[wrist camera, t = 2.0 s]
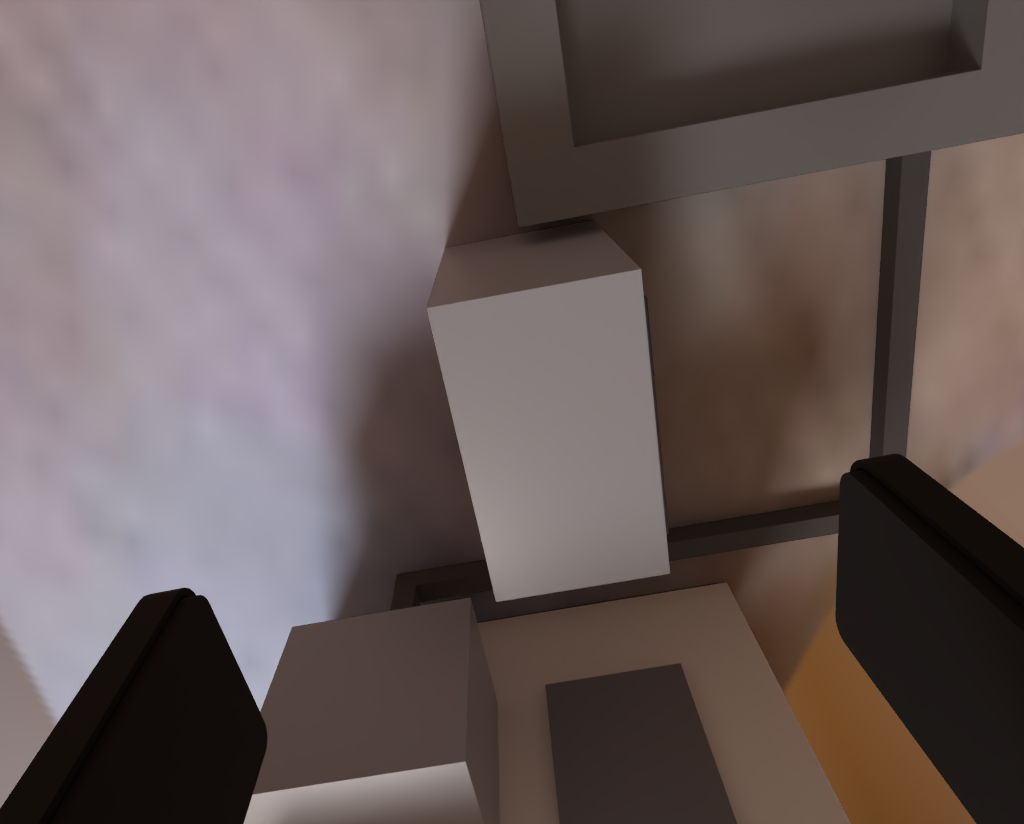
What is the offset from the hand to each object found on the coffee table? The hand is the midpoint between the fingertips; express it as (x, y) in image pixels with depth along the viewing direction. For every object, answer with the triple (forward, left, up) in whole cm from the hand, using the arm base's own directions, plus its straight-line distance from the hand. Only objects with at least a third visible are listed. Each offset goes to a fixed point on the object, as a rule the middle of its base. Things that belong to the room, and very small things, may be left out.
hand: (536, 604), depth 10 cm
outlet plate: (+1, +8, -10) cm, 13 cm away
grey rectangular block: (-1, 0, -10) cm, 10 cm away
